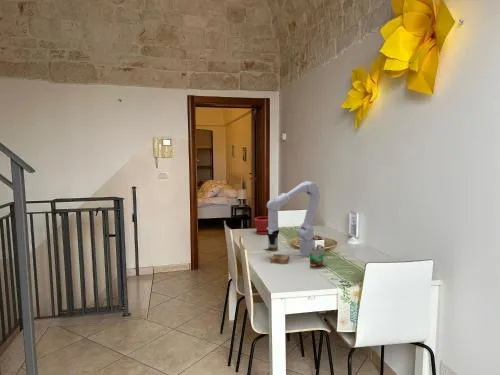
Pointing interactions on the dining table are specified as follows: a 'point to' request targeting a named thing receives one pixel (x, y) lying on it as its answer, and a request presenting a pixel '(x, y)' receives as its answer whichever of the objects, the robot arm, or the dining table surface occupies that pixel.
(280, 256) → the base
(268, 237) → the condiment
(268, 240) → the block
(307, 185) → the robot arm
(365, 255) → the dining table surface
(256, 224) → the plant pot
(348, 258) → the dining table surface
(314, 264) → the food container
